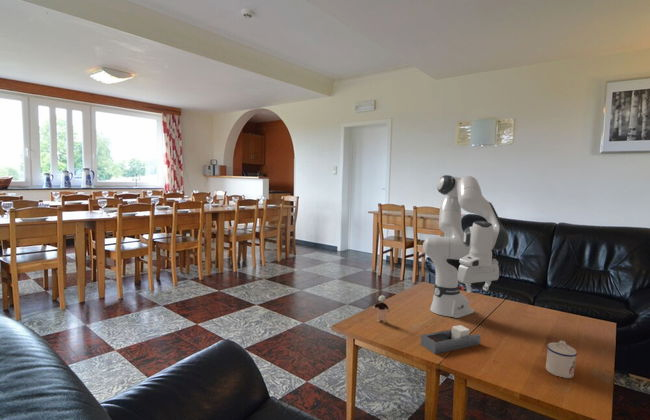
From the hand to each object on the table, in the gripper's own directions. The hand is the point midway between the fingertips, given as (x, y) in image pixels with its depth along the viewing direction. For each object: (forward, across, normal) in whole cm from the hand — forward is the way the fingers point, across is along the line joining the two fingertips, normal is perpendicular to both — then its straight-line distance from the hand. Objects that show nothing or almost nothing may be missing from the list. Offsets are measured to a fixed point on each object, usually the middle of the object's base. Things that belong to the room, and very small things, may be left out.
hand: (477, 291), depth 154 cm
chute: (+21, +13, 0) cm, 25 cm away
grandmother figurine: (+22, +28, -30) cm, 46 cm away
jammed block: (+20, +8, 0) cm, 22 cm away
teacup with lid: (+22, -11, +30) cm, 39 cm away
